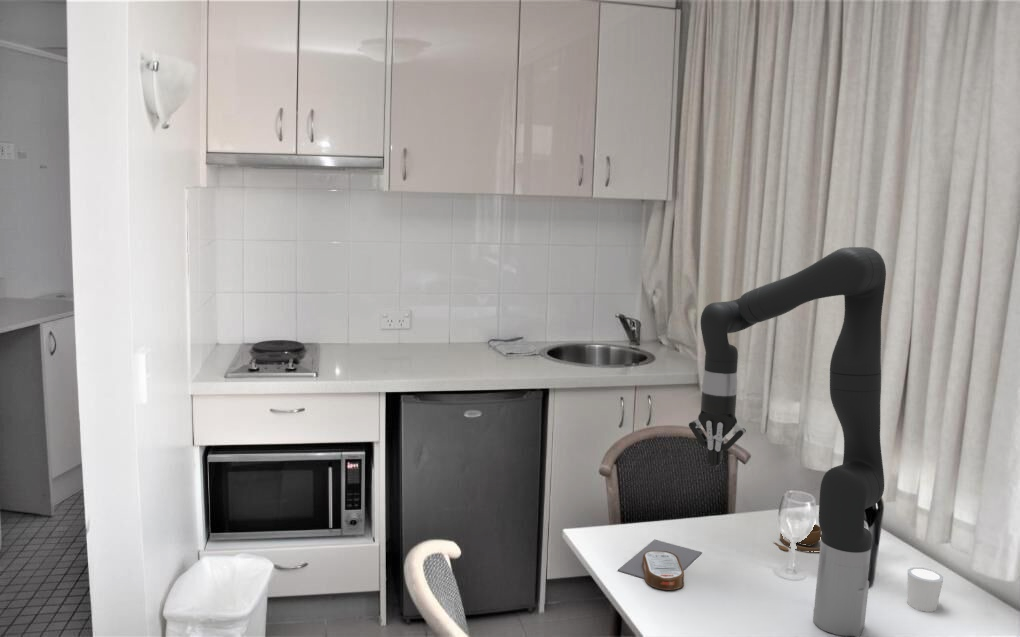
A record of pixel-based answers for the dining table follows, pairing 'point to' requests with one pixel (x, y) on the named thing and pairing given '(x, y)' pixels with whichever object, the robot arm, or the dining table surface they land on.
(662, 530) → the dining table surface
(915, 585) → the white cup
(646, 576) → the tin
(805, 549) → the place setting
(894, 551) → the dining table surface
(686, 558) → the mat
